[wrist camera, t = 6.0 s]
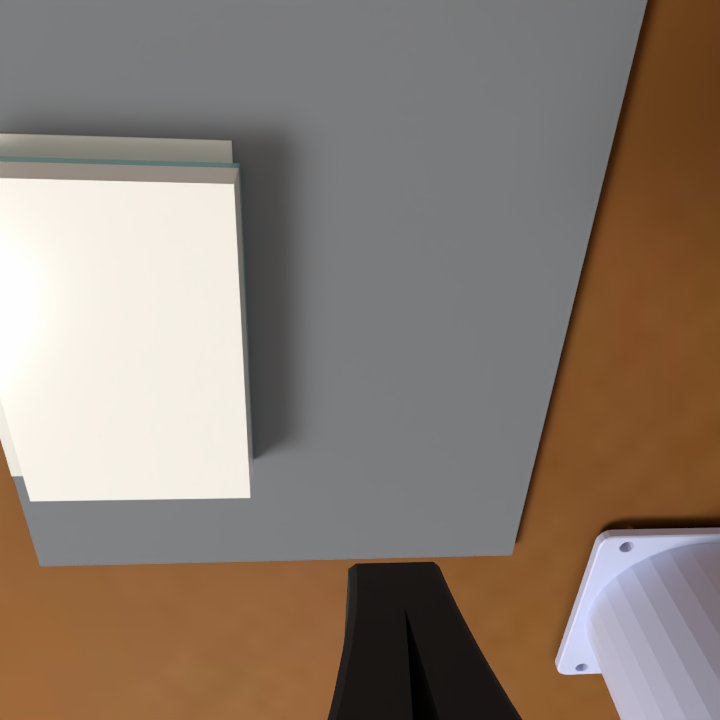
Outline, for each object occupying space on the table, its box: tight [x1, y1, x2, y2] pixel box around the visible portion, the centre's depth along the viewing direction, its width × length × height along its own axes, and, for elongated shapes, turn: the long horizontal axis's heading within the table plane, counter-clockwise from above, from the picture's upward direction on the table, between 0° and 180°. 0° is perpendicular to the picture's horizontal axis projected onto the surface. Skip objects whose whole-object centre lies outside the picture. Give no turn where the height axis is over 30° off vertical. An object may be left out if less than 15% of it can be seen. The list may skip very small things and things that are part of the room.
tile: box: [0, 156, 254, 501], centre depth 17 cm, size 2×9×6 cm
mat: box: [0, 0, 647, 566], centre depth 18 cm, size 16×18×1 cm
